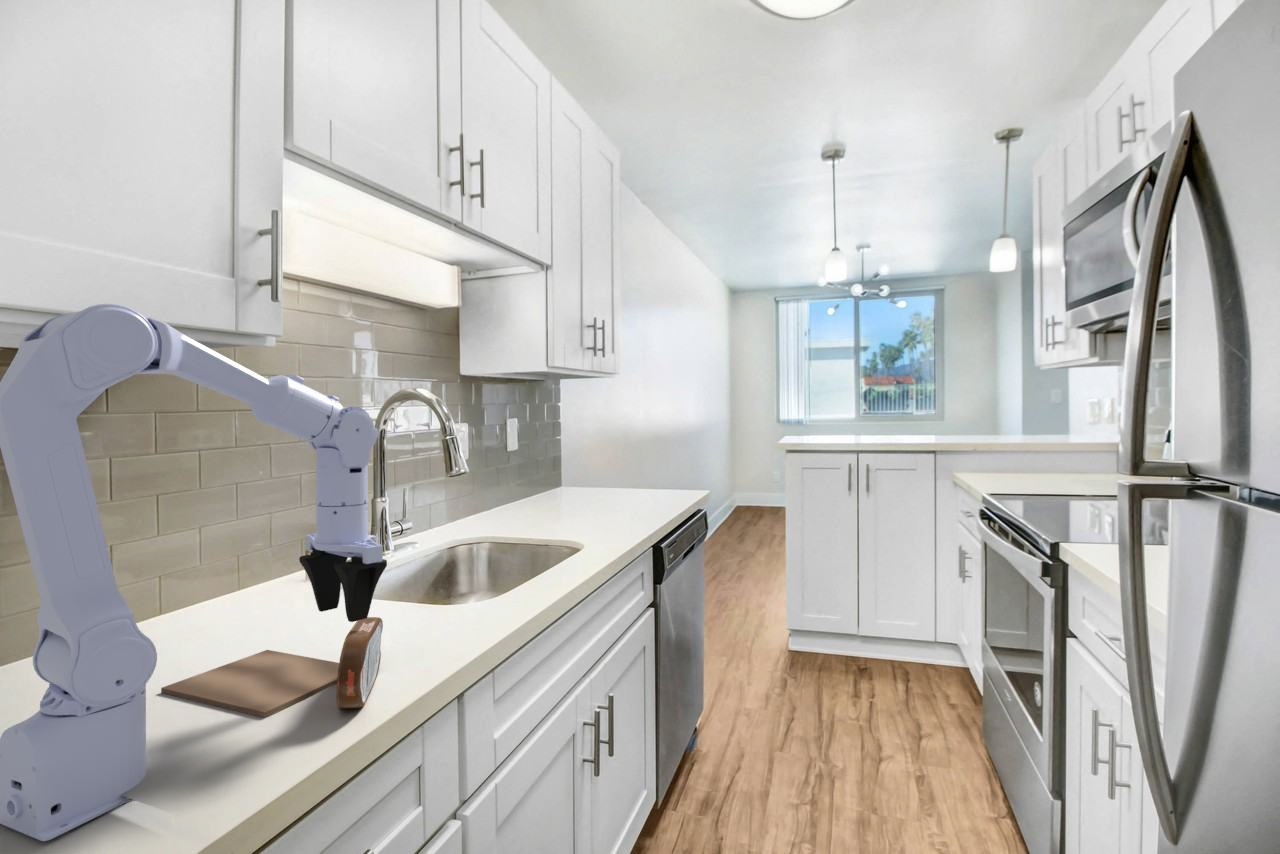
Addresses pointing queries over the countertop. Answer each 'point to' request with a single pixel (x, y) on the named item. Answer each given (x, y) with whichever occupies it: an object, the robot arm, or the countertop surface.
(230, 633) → the countertop surface
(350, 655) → the tin
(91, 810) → the robot arm
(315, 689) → the board
